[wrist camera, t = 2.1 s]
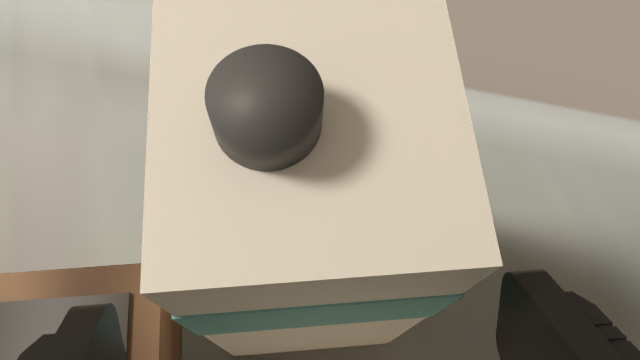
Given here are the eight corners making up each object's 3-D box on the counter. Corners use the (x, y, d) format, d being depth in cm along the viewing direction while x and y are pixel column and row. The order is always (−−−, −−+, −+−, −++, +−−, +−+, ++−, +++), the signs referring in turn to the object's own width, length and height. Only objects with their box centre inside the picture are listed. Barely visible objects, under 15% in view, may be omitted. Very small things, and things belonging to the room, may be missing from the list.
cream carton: (370, 199, 23) (456, -54, 10) (389, 344, 21) (530, 253, 8) (229, 208, 23) (136, -41, 10) (232, 357, 21) (117, 284, 8)
